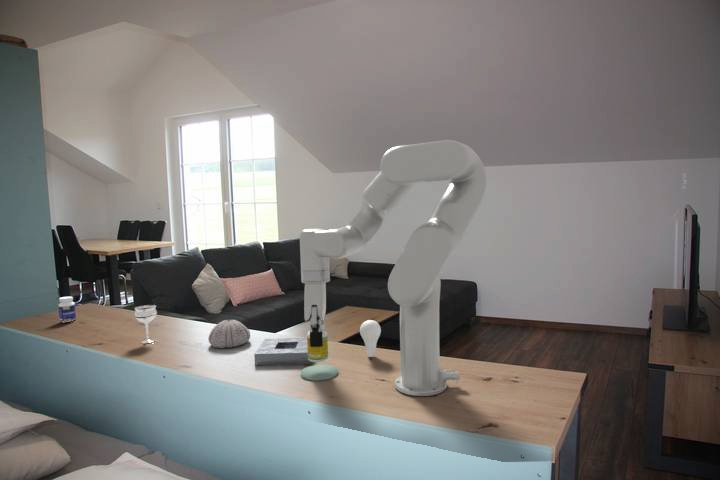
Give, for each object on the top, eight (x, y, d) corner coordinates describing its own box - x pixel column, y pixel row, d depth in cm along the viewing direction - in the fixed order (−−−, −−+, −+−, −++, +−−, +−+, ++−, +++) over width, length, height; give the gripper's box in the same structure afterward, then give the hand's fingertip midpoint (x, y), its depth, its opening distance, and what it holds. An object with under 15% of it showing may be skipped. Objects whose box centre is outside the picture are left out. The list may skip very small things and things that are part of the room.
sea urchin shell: (199, 348, 154) (198, 323, 153) (228, 336, 166) (226, 313, 166) (232, 353, 149) (231, 327, 148) (259, 340, 161) (258, 316, 160)
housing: (316, 348, 150) (315, 337, 150) (311, 364, 136) (310, 352, 136) (265, 349, 150) (264, 338, 150) (254, 365, 136) (254, 353, 136)
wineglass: (159, 343, 160) (156, 308, 159) (137, 346, 158) (134, 310, 156) (158, 338, 167) (155, 304, 165) (136, 341, 164) (134, 306, 162)
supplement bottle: (324, 363, 126) (323, 326, 125) (305, 362, 127) (304, 326, 126) (330, 356, 131) (329, 321, 130) (311, 355, 132) (310, 320, 131)
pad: (339, 366, 134) (338, 364, 134) (336, 380, 124) (336, 378, 124) (303, 367, 134) (303, 365, 134) (298, 381, 124) (298, 379, 124)
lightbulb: (385, 355, 142) (384, 318, 141) (375, 361, 137) (374, 324, 136) (367, 352, 145) (366, 316, 144) (356, 358, 140) (355, 321, 139)
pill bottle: (64, 324, 189) (62, 299, 188) (56, 322, 192) (54, 298, 191) (79, 320, 194) (77, 296, 193) (71, 319, 197) (69, 295, 196)
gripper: (305, 270, 135) (307, 333, 137) (296, 282, 118) (299, 353, 120) (332, 270, 135) (333, 333, 137) (327, 281, 118) (329, 353, 120)
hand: (317, 342), depth 128 cm, fingers closed on supplement bottle, 5 cm apart
